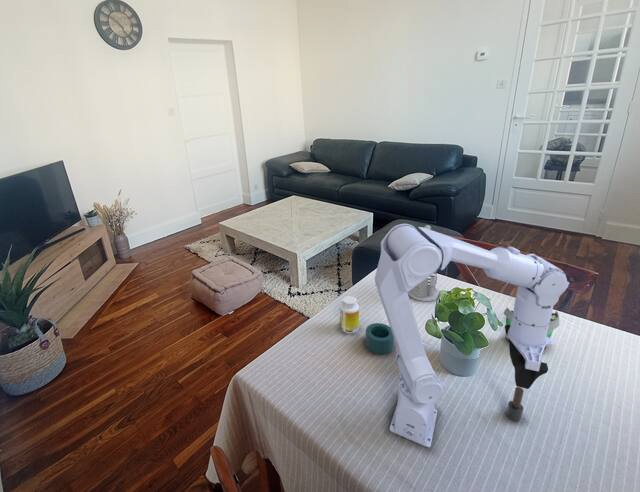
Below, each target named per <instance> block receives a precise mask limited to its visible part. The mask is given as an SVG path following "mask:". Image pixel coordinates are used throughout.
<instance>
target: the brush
mask: <svg viewBox="0 0 640 492" xmlns="http://www.w3.org/2000/svg"><path fill="white" fill-rule="evenodd" d="M524 392H525V389H524V388H521V387H517V386H516V387H515V389H514V393H513V398H512V400H510V401H508V404H507V409H506V417H507V418H508V419H509V420H511V421H513V422H516V423H517V422H521V421H522V418H523V413H524V406H523V404H522V402H523V398H524V397H523V396H524Z"/></svg>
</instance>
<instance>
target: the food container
mask: <svg viewBox="0 0 640 492" xmlns="http://www.w3.org/2000/svg"><path fill="white" fill-rule="evenodd" d="M503 315H504V316H505V325H511V320H512V315H513V310H510V308H509V307H506V308H505V309H504V311H503ZM560 321H561V320H560V314H559V312H558V310H555V312H552V315H551V319H550V323H549V327H548V331H547V335H546V337H549V338H551V337H552V334H553V332H554V330H556V329H557V328H559V326H560V323H561V322H560ZM504 331H505V330H504ZM504 333H505V334H504V339H505V340H506V341H507V342H508V343H509V339H508V336H507V333H506V331H505V332H504ZM547 347H548V346H545V348H544V351H545V350H546V349H547Z"/></svg>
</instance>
